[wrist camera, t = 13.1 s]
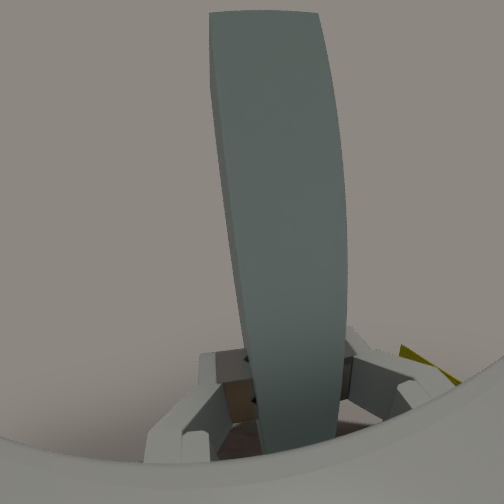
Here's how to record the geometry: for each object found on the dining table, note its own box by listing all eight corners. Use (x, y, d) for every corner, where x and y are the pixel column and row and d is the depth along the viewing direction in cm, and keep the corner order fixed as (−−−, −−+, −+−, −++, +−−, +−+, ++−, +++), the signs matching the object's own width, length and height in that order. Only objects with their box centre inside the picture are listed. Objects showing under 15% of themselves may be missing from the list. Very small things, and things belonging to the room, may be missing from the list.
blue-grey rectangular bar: (296, 475, 15) (268, 82, 9) (314, 532, 10) (317, 13, 4) (267, 481, 15) (210, 87, 8) (281, 539, 10) (208, 12, 4)
